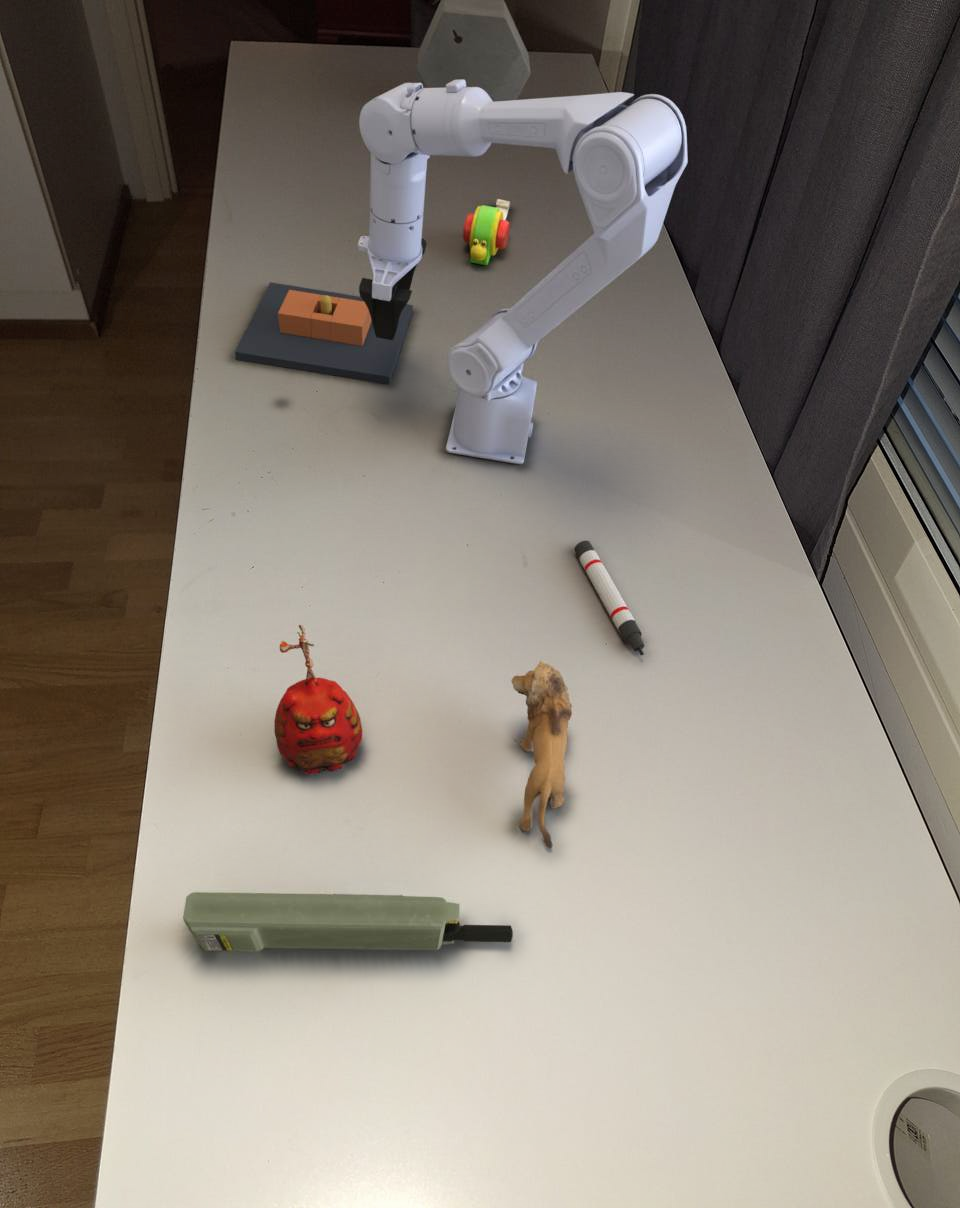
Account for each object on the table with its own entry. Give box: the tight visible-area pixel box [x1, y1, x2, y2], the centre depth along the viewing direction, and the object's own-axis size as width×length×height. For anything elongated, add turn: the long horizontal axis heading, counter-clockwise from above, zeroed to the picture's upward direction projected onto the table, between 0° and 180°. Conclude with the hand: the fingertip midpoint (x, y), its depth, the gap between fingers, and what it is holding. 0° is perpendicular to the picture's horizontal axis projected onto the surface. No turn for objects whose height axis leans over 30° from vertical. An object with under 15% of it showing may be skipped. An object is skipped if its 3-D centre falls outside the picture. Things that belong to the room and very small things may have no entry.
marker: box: [573, 539, 645, 656], centre depth 95 cm, size 15×2×2 cm, turn 20°
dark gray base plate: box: [234, 282, 414, 385], centre depth 118 cm, size 20×16×6 cm
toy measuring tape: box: [462, 198, 511, 266], centre depth 136 cm, size 6×19×7 cm, turn 166°
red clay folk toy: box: [274, 624, 363, 776], centre depth 77 cm, size 8×7×15 cm
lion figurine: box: [510, 660, 573, 849], centre depth 80 cm, size 15×5×9 cm, turn 6°
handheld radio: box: [182, 891, 514, 952], centre depth 70 cm, size 7×3×25 cm
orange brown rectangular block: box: [278, 290, 371, 346], centre depth 118 cm, size 11×5×3 cm, turn 82°
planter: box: [416, 0, 532, 102], centre depth 156 cm, size 17×8×21 cm
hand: (391, 317), depth 107 cm, fingers open, 7 cm apart
